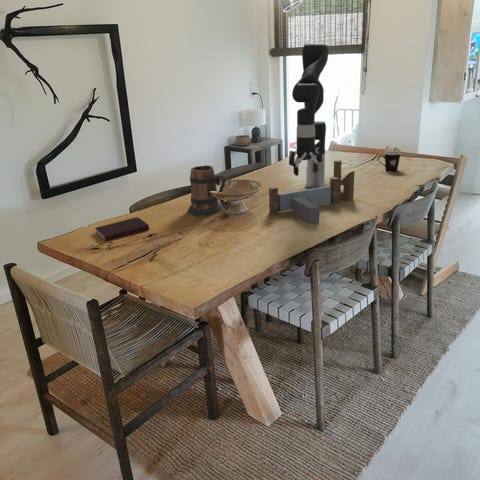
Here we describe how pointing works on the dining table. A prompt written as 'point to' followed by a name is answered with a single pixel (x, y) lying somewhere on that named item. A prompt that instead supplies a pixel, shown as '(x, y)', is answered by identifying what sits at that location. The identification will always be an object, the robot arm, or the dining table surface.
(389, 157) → the coffee mug
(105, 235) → the book
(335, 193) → the gate frame
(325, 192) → the gate leaf
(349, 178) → the wooden block
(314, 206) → the block
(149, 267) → the dining table surface
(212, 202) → the tankard
